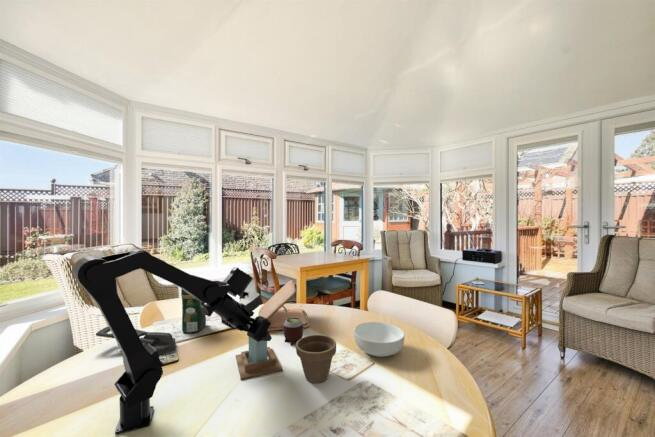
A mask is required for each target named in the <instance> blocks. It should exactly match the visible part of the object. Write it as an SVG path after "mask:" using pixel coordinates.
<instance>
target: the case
mask: <svg viewBox="0 0 655 437" xmlns="http://www.w3.org/2000/svg"><path fill="white" fill-rule="evenodd" d="M296 287H297V286H296V284H295V283H294V280H292V279H290V280H288V281H287V282H286V283H285V284H284V285H282V287H281V288H280V289H278V291H276V292H275V294H273V295H272V297H270V298H269V300H267V301H266V302H265V303H263V304H262V305H261V307H260V308H259V310H258V314H257V315H258V316H262V317H264V318H267V319H268V320H269V321H271V325H270V327H269V328H268V331H269V332H276V331H284V330H283V326H284V323H285V321H286V320H287V319H288V318H287V315H286V312H285V310H284V309H281V308H283V307H282V306H280V304H281V305H283V306H285V304H287V303H288V302H289V301H290V300H291V299H292V298H293V296H295V294H296V292H297V289H296ZM287 313H288V316H289V318H293V317H294V318H299V319H300V320H301V321H302V324H303V329H307V328H309V327H310V322H309V318H308V315H307V314H306V311H305V310H303V309H301V308H300V309H297V308H295V309H287ZM258 316H257V317H258Z"/></svg>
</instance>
